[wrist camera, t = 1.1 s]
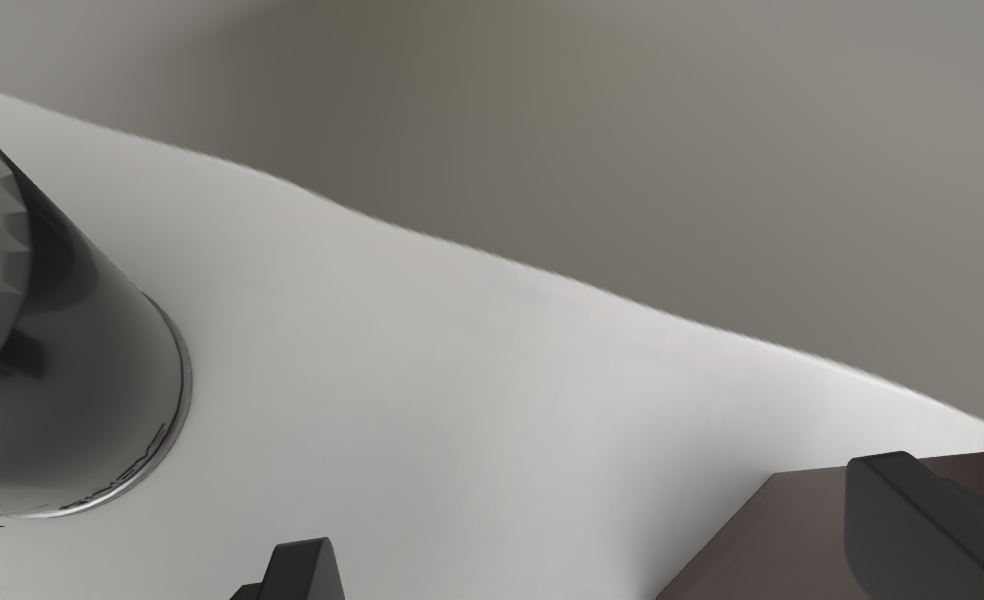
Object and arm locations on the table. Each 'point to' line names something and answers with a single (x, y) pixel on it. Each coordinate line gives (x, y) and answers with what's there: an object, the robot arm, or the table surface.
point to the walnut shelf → (793, 539)
